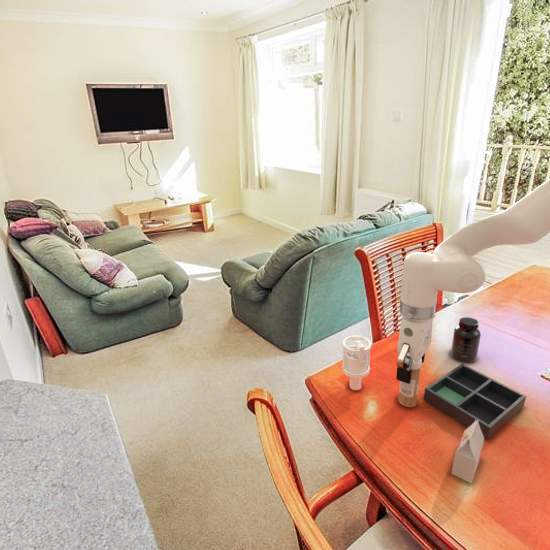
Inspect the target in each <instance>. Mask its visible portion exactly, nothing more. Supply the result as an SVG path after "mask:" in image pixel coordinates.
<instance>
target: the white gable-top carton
mask: <svg viewBox="0 0 550 550" xmlns="http://www.w3.org/2000/svg"><path fill="white" fill-rule="evenodd" d="M484 442H485V438H484V436H483V434H482V431H481V429H480V426H479V422H478V420H477V421H476V420H475V422H474V423H473V424H472V425H470V426H469V427H466V428H465V429H464V431H463V433H462V436H461V438H460V439H459V442H458V445H457V447H456V450H455V451H454V456H453V457H454V458H453V462H452V468H451V475H453V476H455V477H457V478H459V479H461V480H463V481H465V482H467V483H469V484H472V482H473V480H474V477H475V475H476V471H477V469H478V466H479V462H480V460H481V456H482V452H483V451H482V450H483V446H484Z"/></svg>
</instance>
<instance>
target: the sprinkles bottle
mask: <svg viewBox="0 0 550 550" xmlns="http://www.w3.org/2000/svg"><path fill="white" fill-rule="evenodd" d="M407 356H410V357H411V355H410V353H408V354H407ZM405 363H407V364H408V363H409V359H407V358H406V359H405ZM422 365H423V363H422V359H420V360H419V361H414V360H413V362H412V365H411V369H412V375H411V382H410V384H407V383H404V382H402V381H399V387H398V390H399V391H398V397H397V400H398V403H399V404H400V405H401V406H403V407H405V408H414V407H416V405H417V404H418V394H419V386H420V385H419V384H420V376H421V375H420V373H421V368H422Z"/></svg>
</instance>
